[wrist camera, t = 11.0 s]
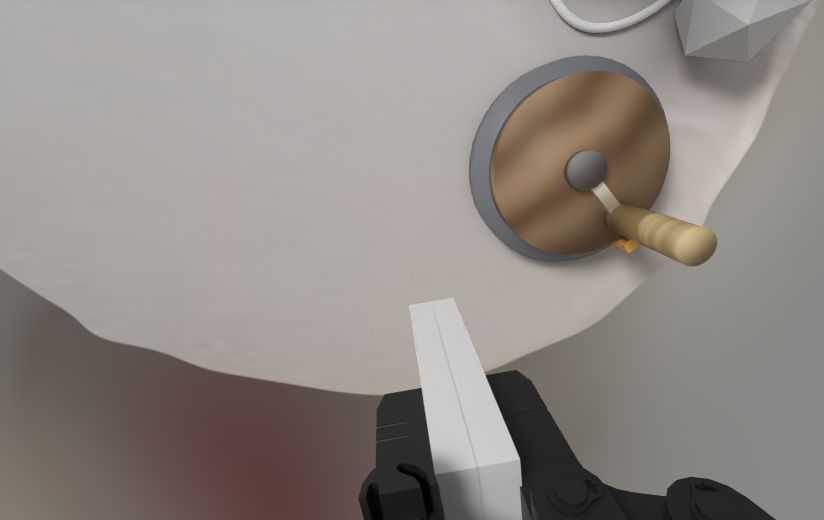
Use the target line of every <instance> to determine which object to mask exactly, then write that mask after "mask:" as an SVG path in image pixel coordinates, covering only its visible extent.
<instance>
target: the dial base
mask: <svg viewBox="0 0 824 520" xmlns="http://www.w3.org/2000/svg"><path fill="white" fill-rule="evenodd" d="M584 71H608V72H613V73H617V74H621V75H624V76H626V77H628V78H630V79H632V80H634V81H635V82H637V83H638V84H640V85H641V86H643V87H644V88H645V89H646V90H647V91H648V92H649V93H650V94H651V95H652V96H653V98H654V99H655V100H656V102H657V103H658V105H659V107H660V109H661V110H662V112H663V115H664V117H665V113H664V111H663V108H662V106H661V103H660V101H659V99H658V97H657V96H656V94H655V92H654V91H653V89H652V88H651V87H650V86H649V84H648V83H647V82H646V81H645V80H644V79H643V78H642V77H641V76H640V75H639V74H637V73H636V72H635V71H634V70H632V69H630V68H629V67H627V66H626V65H624V64H621V63H619V62H617V61H614V60H612V59H607V58H603V57H598V56H575V57H568V58H564V59H560V60H556V61H553V62H551V63H548V64H545V65H543V66H540V67H538V68H535V69H533V70H531V71H530V72H528V73H526V74H524V75H522V76H521V77H520V78H518V79H517V80H516V81H514V82H513V83H511V84H510V85H509V86H508V87H507V88H506V89H505V90H504V91H503V92H502V93H501V94H500V95H499V96H498V97H497V99H496V100H495V101H494V102H493V103H492V105H491V106H490V108H489V109H488V111H487V112H486V114H485V116H484V117H483V119H482V121H481V123H480V125H479V127H478V130H477V133H476V135H475V138H474V141H473V145H472V150H471V154H470V164H469V179H470V186H471V193H472V196H473V199H474V203H475V205H476V208H477V210H478V212H479V214H480V216H481V217H482V219H483V221H484V222H485V224H486V225H487V226H488V227H489V228H490V230H491V231H492V232H493V233H494V234H495V235H496V236H497V237H498V238H499V239H500V240H502V241H503V242H504V243H505V244H506V245H507V246H509V247H511V248H512V249H514V250H515V251H517V252H519V253H521V254H524V255H526V256H528V257H532V258H535V259H539V260H546V261H567V260H574V259H579V258H583V257H586V256H589V255H592V254H594V253H597V252H599V251H601V250H603V249H605V248H607V247H608V246H610V245H613V246H615V247H617V248H619V249H621V250H623V251H625V252H627V253H630V252H632V251H633V250H634V249H636V248H637V247H639V246H640V245H641V244H639V243H637V242H635V241H632V240H630V239H628V238H626V237H624V236H623V237H621V238H620V239H618V240H616V241H615V242H613V243H611V244H609V245H607V246H605V247H603V248H600V249H597V250H594V251H591V252H587V253H582V254H571V255H566V254H556V253H550V252H547V251H544V250H541V249H538V248H536V247H534V246H532V245H530V244H529V243H527V242H526V241H525V240H523V239H522V238H520V237H519V236H518V235H517V234H516V233H514V232H513V231H512V230H511V229H510V228H509V227H508V226H507V225H506V223H505V222H504V221H503V219H502V218H501V216H500V214H499V213H498V211H497V209H496V207H495V204H494V202H493V199H492V195H491V190H490V183H489V165H490V158H491V153H492V149H493V146H494V142H495V140H496V138H497V135H498V133H499V131H500V129H501V127H502V125H503V123H504V122H505V120H506V119H507V117H508V116H509V114H510V113H511V112H512V110H513V109H514V108H515V107H516V106H517V105H518V104H519V103H520V101H522V100H523V99H524V98H525V97H526V96H527V95H529V94H530V93H531V92H532V91H534V90H535V89H537V88H538V87H540V86H542V85H544V84H546V83H548V82H550V81H552V80H554V79H557V78H560V77H563V76H567V75H570V74H574V73H579V72H584ZM665 120H666V117H665ZM666 123H667V121H666ZM667 127H668V126H667Z"/></svg>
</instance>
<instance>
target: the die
mask: <svg viewBox="0 0 824 520" xmlns="http://www.w3.org/2000/svg"><path fill="white" fill-rule="evenodd" d="M810 1H811V0H682V1H681V3H680V4H679V5H678V7H677V8H676V9H675V10H674V16H675V20H676V23H677V27H678V31H679V35H680V39H681V42H682V46H683V50H684V54H685V55H687V56H696V57H705V58H714V59H723V60H732V61H741V62H749V61H750V60H751V59H752V58H753V57H754V56H755V55H756V54H757V53H758V52H759V51H760V50H761V49H762V48H763V47H765V46H766V45H767V44H768V43H769V42H770V41H771V40H772V39H773V38H774V37H775V36H776V35H777V34H778V33H779V32H780V31H781V30H782V29H783V28H784V27H785V26H786V25H787V24H788V23H789V22H790V21H791V20H792V19H793V18H794V17H795V16H796V15H797V14H798V13H799V12H800V11H801V10H802V9H803V8H804V7H805V6H806V5H807V4H808V3H809V2H810Z"/></svg>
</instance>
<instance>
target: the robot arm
mask: <svg viewBox="0 0 824 520" xmlns="http://www.w3.org/2000/svg"><path fill="white" fill-rule="evenodd" d="M409 308H410V315H411V321H412V328H413V334H414V341H415V348H416V354H417V361H418V367H419V374H420V381H421V387H422V388H418V389H412V390H407V391H401V392H395V393H390V394H385V395H384V397H383V399H382V401H381V403H380V405H379V407H378V408H377V430H376V441H377V443H376V468H375V469H374V470H373V471H371V472H370V474H369V475H368V477H367V478H366V480H365V481H364V482H363V484H362V487H361V491H360V495H359V498H358V499H359V502H360V506H361V509H362V513H363V517H364V520H775V519H774V518H773V517H772V516H770V515H769V514H768V513H766V512H765V511H764V510H763V509H761V508H760V507H759V506H757V505H756V504H755V503H753V502H752V501H751V500H749V499H748V498H747V497H745V496H744V495H742V494H740V493H739V492H737V491H735V490H734V489H732V488H730V487H729V486H727V485H724V484H721V483H718V482H716V481H713V480H710V479H705V478H696V477H688V478H684V479H679V480H676V481H675V482H674V483H673V484H672V485H671V486H670V487H669V488H668V489H667V495H666V496H658V495H650V494H641V493H634V492H628V491H623V490H619V489H615V488H613V487H611V486H608V485H606V484H604V483H602V482H601V480H600V479H599V478H598V477H597V476H595V475H594V474H592V473H591V472H589V471H588V470H586V469H584V468H583V467H582V465H581V464H580V463H579V461H578V460H577V458H576V457H575V455H574V453H573V452H572V450H571V448H570V446H569V445H568V443H567V441H566V440H565V438H564V436H563V434H562V433H561V431H560V430H559V428H558V426H557V424H556V423H555V421H554V419H553V418H552V416H551V414H550V412H549V411H548V410H547V407H546V405H545V404H544V402H543V400H542V399H541V398H540V395H539V393H538V392H537V390H536V389H535V387H534V385H533V383H532V382H531V380H529V379H528V378H526V377H525V376H523V375H522V374H521V373H520V372H518V371H517V370H514V371H508V372H502V373H496V374H491V375H485V374H484V371H483V369H482V366H481V364H480V361H479V359H478V357H477V354H476V352H475V349H474V347H473V345H472V342H471V340H470V337H469V335H468V333H467V330H466V328H465V325H464V323H463V320H462V318H461V316H460V313H459V311H458V308H457V306H456V304H455V301H454V299H453V298H449V299H443V300H437V301H431V302H426V303H420V304H414V305H409Z"/></svg>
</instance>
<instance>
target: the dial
mask: <svg viewBox="0 0 824 520" xmlns="http://www.w3.org/2000/svg"><path fill="white" fill-rule="evenodd" d="M669 158H670V139H669V132H668V127H667V123H666V120H665V117H664V115H663V112H662V110H661V109H660V107H659V105H658V103H657V102H656V100H655V99H654V98H653V96H652V95H651V94H650V93H649V92H648V91H647V90H646V89H645V88H644V87H643V86H641V85H640V84H638V83H637V82H635V81H634V80H632V79H630V78H628V77H626V76H624V75H621V74H617V73H613V72H608V71H584V72H579V73H574V74H570V75H567V76H563V77H560V78H557V79H554V80H552V81H550V82H548V83H546V84H544V85H542V86H540V87H538V88H537V89H535V90H534V91H532V92H531V93H530V94H529V95H527V96H526V97H525V98H524V99H523V100H522V101H520V103H519V104H518V105H517V106H516V107H515V108H514V109H513V110H512V112H511V113H510V114H509V116H508V117H507V119H506V120H505V122H504V123H503V125H502V127H501V129H500V131H499V133H498V135H497V138H496V140H495V142H494V146H493V149H492V153H491V158H490V165H489V183H490V190H491V195H492V199H493V202H494V204H495V207H496V209H497V211H498V213H499V214H500V216H501V218H502V219H503V221H504V222H505V223H506V225H507V226H508V227H509V228H510V229H511V230H512V231H513V232H514V233H516V234H517V235H518V236H519V237H520V238H522V239H523V240H525V241H526V242H527V243H529V244H530V245H532V246H534V247H536V248H538V249H541V250H544V251H547V252H550V253H556V254H566V255H571V254H582V253H587V252H591V251H594V250H597V249H600V248H603V247H605V246H607V245H609V244H611V243H613V242H615V241H616V240H618V239H620V238H621V237H623V236H624V237H626V238H628V239H630V240H632V241H635V242H637V243H639V244H641V245H643V246H645V247H648V248H650V249H652V250H654V251H656V252H659V253H661V254H663V255H665V256H667V257H670V258H672V259H674V260H676V261H679V262H681V263H683V264H685V265H687V266H697V265H700V264H702V263H704V262H706V261H707V260H708V259H709V258H710V257H711V256H712V255H713V253H714V252H715V249H716V246H717V238H716V235H715V233H714V232H713V231H711V230H710V229H707V228H704V227H701V226H698V225H694V224H691V223H688V222H685V221H682V220H678V219H675V218H672V217H669V216H666V215H663V214H659V213H656V212H653V211H650V208H651V207H652V205H653V204H654V202H655V200H656V198H657V197H658V195H659V193H660V190H661V188H662V186H663V183H664V180H665V177H666V174H667V170H668V164H669Z"/></svg>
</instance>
